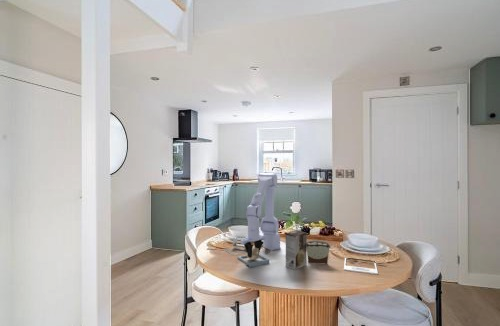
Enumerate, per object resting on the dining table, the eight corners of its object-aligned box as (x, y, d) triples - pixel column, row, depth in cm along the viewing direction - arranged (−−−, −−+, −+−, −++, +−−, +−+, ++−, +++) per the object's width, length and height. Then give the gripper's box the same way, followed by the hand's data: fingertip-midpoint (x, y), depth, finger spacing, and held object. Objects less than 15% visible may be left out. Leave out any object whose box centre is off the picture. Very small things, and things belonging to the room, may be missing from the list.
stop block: (253, 256, 148) (253, 246, 148) (258, 258, 144) (258, 248, 144) (247, 257, 145) (247, 247, 145) (252, 259, 142) (252, 249, 142)
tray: (256, 256, 152) (256, 252, 152) (269, 263, 143) (269, 259, 143) (237, 260, 146) (237, 256, 146) (249, 267, 136) (249, 263, 136)
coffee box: (296, 261, 145) (296, 229, 145) (306, 265, 141) (307, 232, 140) (284, 266, 139) (285, 233, 139) (295, 270, 134) (295, 235, 134)
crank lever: (252, 248, 160) (252, 239, 160) (250, 249, 158) (250, 241, 158) (234, 245, 166) (234, 237, 166) (231, 246, 163) (232, 238, 163)
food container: (328, 260, 148) (328, 240, 148) (330, 264, 142) (330, 244, 142) (304, 259, 149) (304, 239, 149) (305, 263, 143) (305, 243, 143)
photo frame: (343, 268, 134) (345, 256, 151) (343, 271, 134) (345, 258, 151) (377, 272, 129) (375, 260, 146) (377, 275, 129) (375, 262, 146)
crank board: (245, 246, 170) (245, 243, 170) (257, 252, 159) (257, 249, 159) (222, 250, 162) (222, 247, 162) (233, 257, 151) (233, 254, 151)
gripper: (259, 225, 152) (259, 251, 152) (237, 229, 143) (236, 256, 143) (268, 228, 146) (268, 255, 146) (245, 232, 138) (245, 260, 138)
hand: (253, 256), depth 144 cm, fingers closed on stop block, 4 cm apart
